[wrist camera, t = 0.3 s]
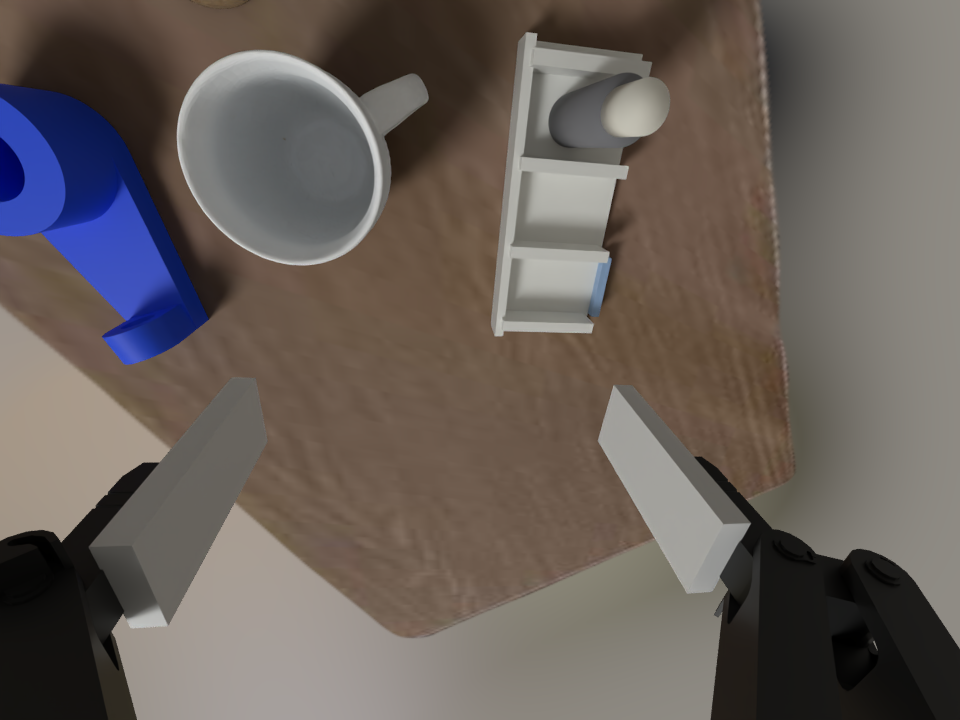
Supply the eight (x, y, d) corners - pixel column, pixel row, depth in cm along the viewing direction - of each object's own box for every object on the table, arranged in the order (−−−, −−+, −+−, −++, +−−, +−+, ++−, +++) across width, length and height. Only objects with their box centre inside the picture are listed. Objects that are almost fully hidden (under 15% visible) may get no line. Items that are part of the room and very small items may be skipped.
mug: (382, 19, 30) (355, -60, 19) (460, 160, 35) (477, 166, 24) (231, 136, 32) (123, 130, 21) (325, 252, 37) (280, 299, 26)
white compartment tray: (518, 41, 32) (529, 28, 28) (646, 58, 33) (672, 47, 30) (490, 324, 43) (496, 340, 39) (587, 327, 44) (601, 342, 41)
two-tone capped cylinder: (552, 89, 33) (620, 59, 21) (599, 95, 33) (690, 67, 22) (544, 145, 34) (603, 144, 23) (589, 149, 35) (668, 151, 24)
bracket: (-31, 110, 30) (-163, 100, 23) (84, 74, 30) (-15, 53, 23) (142, 338, 39) (84, 378, 33) (230, 312, 39) (190, 346, 32)
